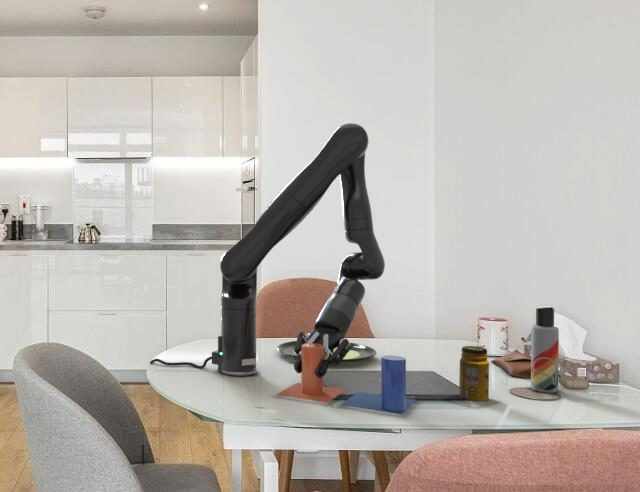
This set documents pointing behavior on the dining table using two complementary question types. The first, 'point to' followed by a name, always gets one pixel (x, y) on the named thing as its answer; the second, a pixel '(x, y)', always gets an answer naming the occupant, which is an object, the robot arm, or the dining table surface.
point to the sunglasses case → (515, 364)
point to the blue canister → (393, 383)
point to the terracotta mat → (325, 397)
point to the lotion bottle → (544, 352)
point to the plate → (354, 354)
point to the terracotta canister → (311, 368)
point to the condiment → (474, 374)
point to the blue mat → (371, 402)
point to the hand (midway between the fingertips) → (307, 373)
